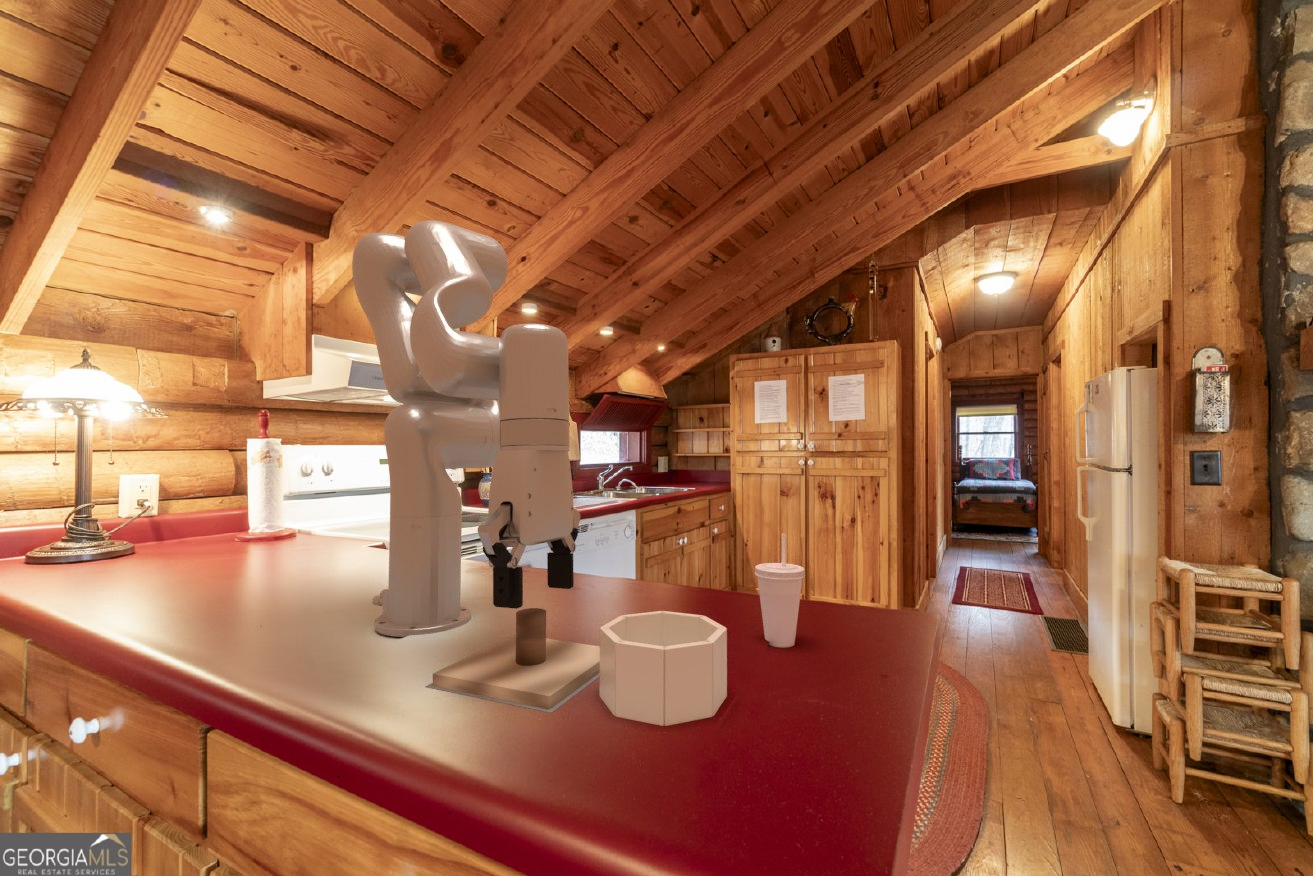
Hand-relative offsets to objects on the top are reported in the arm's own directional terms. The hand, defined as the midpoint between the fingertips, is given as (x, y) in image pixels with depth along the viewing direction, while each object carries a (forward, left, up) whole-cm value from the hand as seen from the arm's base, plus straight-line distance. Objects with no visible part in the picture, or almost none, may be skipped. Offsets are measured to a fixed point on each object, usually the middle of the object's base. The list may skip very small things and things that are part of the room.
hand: (536, 596), depth 60 cm
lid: (-1, 0, -8) cm, 8 cm away
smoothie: (+22, +22, -9) cm, 33 cm away
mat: (-1, 0, -9) cm, 9 cm away
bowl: (+15, 0, -9) cm, 17 cm away
